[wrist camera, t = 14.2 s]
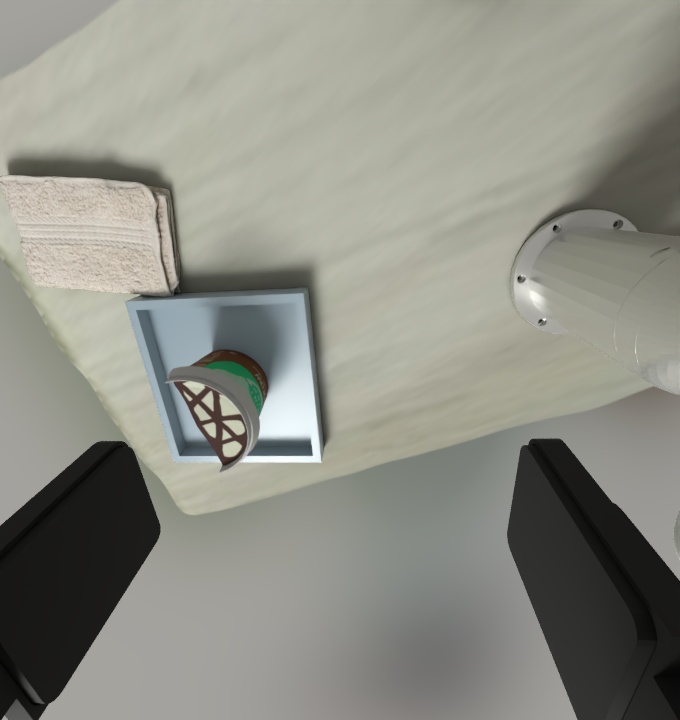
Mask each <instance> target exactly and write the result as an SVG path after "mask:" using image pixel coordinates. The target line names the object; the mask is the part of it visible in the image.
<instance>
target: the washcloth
mask: <svg viewBox="0 0 680 720" xmlns="http://www.w3.org/2000/svg"><path fill="white" fill-rule="evenodd" d="M0 185H1V187H2V190H3V193H4V195H5V199H6V202H7V204H8V206H9V209H10V211H11V213H12V215H13V216H14V218H15V221H16V223H17V224H16V225H17V228H18V229H19V233H20V235H21V236H22V241H21V242H20V244H21V245H22V249H23V254H24V259H25V260H26V264H27V267H28V270H29V272H30V276H31V280H32V281H33V283H35V284H36V285H38V286H40V287H42V286H46V287H59V288H69V289H83V290H93V291H96V292H98V291H105V292H106V291H108V292H112V291H113V292H114V293H129V294H141V295H150V296H161V297H170V296H173V295H174V293H180V292H181V291H180V289H179V286H178V283H179V277H180V273H181V272H180V261H179V252H178V247H177V243H176V236H175V222H174V214H173V207H172V199H171V194H170V191H169V190H168V189H163V188H161V187H159V188H157V187H152V186H146V185H144V184H142V183H140V182H130V181H118V180H106V179H101V178H84V177H81V178H79V177H58V176H49V177H47V176H44V177H41V176H23V175H5V176H0Z"/></svg>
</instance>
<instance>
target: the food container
mask: <svg viewBox="0 0 680 720" xmlns="http://www.w3.org/2000/svg"><path fill="white" fill-rule="evenodd" d="M167 378H168V380H167V381H166V382H165V383H169V382H173V383H174V385H175V387H176V388H177V389H178V391H179V392H180V394H181V395H182V397H183V399H184V400H185V402H186V404H187V406H188V408H189V410H190V413H191V415H192V417H193V419H194V421H195V423H196V425H197V427H198V428H199V430H200V431H201V433H202V434H203V435H204V437H205V438H206V439H207V440H208V442H209V443H210V445H211V446H212V448H213V449H214V451H215V453H216V454H217V456H218V458H219V459H220V461H221V463H222V465H223V466H222V468H221V470H220V472H219V473H222V472H224V471H227V470H229V469H231V468H232V467H234V466H236V465H237V464H238V463H240V462H241V461H242V460H243V459H244V458H245V457H246V456H247V455H248V454H249V452H250V451H251V450H252V449H253V448H254V446H255V444H256V442H257V440H258V437H259V431H260V420H259V417H260V414H261V411H262V408H263V406H264V403H265V400H266V398H267V392H268V381H267V377H266V374H265V372H264V371H263V369H262V368H261V366H260V365H259V364H258V363H257V362H256V361H255V360H254V359H252V358H251V357H250V356H248V355H246V354H244V353H242V352H239V351H235V350H227V349H223V350H216V351H212V352H211V353H209V354H208V355H206V356H204V357H203V358H201V359H200V360H198V361H197V362H195V363H193V364H192V365H190V366H184V367H178V368H174V369H172V371H171V372H170V374H169V375H168V377H167Z"/></svg>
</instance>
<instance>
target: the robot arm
mask: <svg viewBox="0 0 680 720" xmlns="http://www.w3.org/2000/svg"><path fill="white" fill-rule="evenodd" d="M614 222H615V225H614V226H613V224H614ZM554 225H555V226H556V228H555V230H553V226H554ZM519 275H520V279H519V280H517V278H518V276H519ZM510 293H511V297H512V301H513V303H514V305H515V307H516V309H517V311H518V312H519V314H520V315H521V316H522V317H523V318H524V319H525V320H526V321H527V322H528V323H530V324H531V325H533V326H534V327H536V328H537V329H539V330H542V331H545V332H548V333H553V334H560V335H563V334H574V335H576V336H577V337H579V338H580V339H582V340H583V341H585V342H586V343H588V344H590V345H591V346H593V347H594V348H596V349H597V350H599V351H600V352H602V353H603V354H605V355H606V356H608V357H609V358H611V359H612V360H614V361H615V362H617V363H618V364H620V365H621V366H623V367H624V368H626V369H628V370H629V371H631V372H633V373H634V374H636V375H637V376H639V377H640V378H642V379H643V380H645V381H646V382H648V383H650V384H652V385H654V386H656V387H658V388H660V389H663V390H665V391H668V392H671V393H674V394H678V395H680V236H672V235H663V234H654V233H645V232H639V231H638V230H637V228H636V227H635V225H633V224H632V223H631V222H630V221H629V220H628V219H627V218H625V217H623V216H621V215H619V214H617V213H615V212H611V211H607V210H600V209H585V210H577V211H573V212H569V213H565V214H563V215H561V216H559V217H556V218H554V219H552V220H551V221H549V222H548V223H546V224H544V225H543V226H541V227H540V228H539V229H538V230H537V231H536V232H535V233H534V234H533V235H531V237H530V238H529V239H528V240H527V241H526V243H525V244H524V245H523V246H522V248H521V250H520V252H519V253H518V255H517V257H516V259H515V262H514V265H513V267H512V271H511V277H510ZM540 319H541V320H540ZM539 320H540V321H539ZM538 321H539V322H538ZM159 535H160V524H159V520H158V518H157V515H156V512H155V509H154V507H153V504H152V501H151V498H150V495H149V492H148V489H147V487H146V484H145V481H144V478H143V475H142V473H141V470H140V467H139V464H138V461H137V459H136V456H135V453H134V451H133V449H132V448H130V447H128V445H127V444H126V443H125V442H122V441H100V442H97V443H95V444H94V445H92V446H91V447H90V448H89V449H88V450H87V451H86V452H85V453H83V454H82V455H81V456H80V457H79V458H78V459H76V460H75V461H74V462H73V463H72V464H71V465H69V466H68V467H67V468H66V469H65V470H64V471H63V472H62V473H60V474H59V475H58V476H57V477H56V478H55V479H53V480H52V481H51V482H50V483H49V484H48V485H47V486H45V487H44V488H43V489H42V490H41V491H40V492H38V493H37V494H36V495H35V496H34V497H33V498H32V499H30V500H29V501H28V502H27V503H26V504H25V505H24V506H22V508H20V509H19V510H18V511H17V512H16V513H14V514H13V515H12V516H11V517H10V518H9V519H8V520H6V521H5V522H4V523H3V524H2V525H1V526H0V720H2V718H3V716H4V715H5V716H6V718H8V720H38V719H39V718H40V716H41V715H42V713H43V712H44V710H45V709H46V707H47V706H48V704H49V703H51V702H52V701H54V700H55V699H56V698H57V697H58V696H59V695H60V693H61V692H62V691H63V689H64V688H65V686H66V684H67V683H68V681H69V680H70V678H71V677H72V675H73V673H74V672H75V670H76V668H77V667H78V665H79V664H80V662H81V661H82V659H83V658H84V656H85V654H86V653H87V651H88V650H89V648H90V647H91V645H92V643H93V642H94V640H95V638H96V637H97V635H98V634H99V632H100V631H101V629H102V627H103V626H104V624H105V622H106V621H107V620H108V618H109V616H110V615H111V613H112V612H113V610H114V609H115V607H116V605H117V604H118V602H119V601H120V599H121V598H122V596H123V594H124V593H125V591H126V590H127V588H128V586H129V585H130V583H131V582H132V580H133V578H134V577H135V575H136V574H137V572H138V571H139V569H140V567H141V565H142V564H143V563H144V561H145V560H146V558H147V556H148V555H149V553H150V552H151V550H152V549H153V547H154V545H155V544H156V542H157V540H158V538H159ZM507 538H508V544H509V547H510V551H511V553H512V556H513V558H514V561H515V563H516V566H517V568H518V571H519V573H520V576H521V578H522V581H523V583H524V586H525V588H526V591H527V593H528V596H529V598H530V601H531V603H532V606H533V608H534V611H535V614H536V616H537V619H538V621H539V623H540V626H541V629H542V631H543V634H544V636H545V639H546V641H547V644H548V646H549V649H550V651H551V654H552V656H553V659H554V661H555V664H556V666H557V669H558V671H559V674H560V676H561V679H562V682H563V684H564V686H565V689H566V691H567V694H568V696H569V699H570V702H571V704H572V706H573V709H574V712H575V714H576V717H577V719H578V720H680V581H679V580H678V578H677V577H676V576H675V575H674V573H673V572H672V571H671V570H670V568H669V567H668V566H667V565H666V563H665V562H664V561H663V560H662V559H661V558H660V556H659V555H658V554H657V552H655V550H654V549H653V547H652V546H651V545H650V544H649V543H648V541H647V540H646V539H645V538H644V536H643V535H642V534H641V533H640V531H639V530H638V529H637V528H636V527H635V525H634V524H633V523H632V522H631V521H630V519H629V518H628V517H627V515H626V514H625V513H624V512H623V511H622V510H621V509H620V508H619V507H618V506H617V505H616V504H614V503H612V502H611V500H610V499H609V498H608V497H607V495H606V494H605V493H604V492H603V490H602V489H601V488H600V487H599V485H598V484H597V483H596V482H595V480H594V479H593V478H592V476H591V475H590V474H589V473H588V472H587V470H586V469H585V468H584V467H583V465H582V464H581V463H580V462H579V460H578V459H577V458H576V456H575V455H574V454H573V453H572V452H571V450H570V449H569V448H568V447H567V445H566V444H565V443H564V442H563V441H562V440H561V439H531V440H530V442H529V445H524V446H522V448H521V450H520V457H519V463H518V469H517V475H516V481H515V487H514V493H513V500H512V506H511V512H510V518H509V524H508V531H507ZM674 544H675V549H676V553H677V556H678V558H679V560H680V511H679V513H678V515H677V518H676V522H675V526H674Z"/></svg>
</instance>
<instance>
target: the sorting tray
mask: <svg viewBox="0 0 680 720" xmlns="http://www.w3.org/2000/svg"><path fill="white" fill-rule="evenodd" d="M125 304H126V307H127V311H128V314H129V317H130V320H131V324H132V327H133V330H134V333H135V337H136V340H137V343H138V346H139V350H140V353H141V356H142V359H143V363H144V366H145V369H146V372H147V376H148V379H149V382H150V386H151V389H152V392H153V395H154V399H155V402H156V405H157V408H158V412H159V415H160V418H161V421H162V425H163V428H164V431H165V434H166V438H167V441H168V444H169V447H170V451H171V454H172V457H173V460H174V462H221V461H220V459H219V458H218V456H217V454H216V453H215V451H214V449H213V448H212V446H211V445H210V443H209V442H208V440H207V439H206V438H205V437H204V435H203V434H202V433H201V431H200V430H199V428H198V427H197V425H196V423H195V421H194V419H193V417H192V415H191V413H190V410H189V408H188V406H187V404H186V402H185V400H184V399H183V397H182V395H181V394H180V392H179V391H178V389H177V388H176V387H175V385H174V383H173V382H169V383H165V382H166V381H167V380H168V378H167V377H168V375H169V374H170V372H171V371H172V369H174V368H178V367H184V366H190V365H192V364H193V363H195V362H197V361H198V360H200V359H201V358H203V357H204V356H206V355H208V354H209V353H211V352H212V351H216V350H223V349H227V350H235V351H239V352H242V353H244V354H246V355H248V356H250V357H251V358H252V359H254V360H255V361H256V362H257V363H258V364H259V365H260V366H261V368H262V369H263V371H264V372H265V374H266V377H267V381H268V392H267V398H266V400H265V403H264V406H263V408H262V411H261V414H260V417H259V420H260V431H259V437H258V440H257V442H256V444H255V446H254V448H253V449H252V450H251V451H250V452H249V454H248V455H247V456H246V457H245V458H244V459H243V460H242V461H241V462H322V457H323V451H324V441H323V431H322V421H321V411H320V401H319V391H318V381H317V371H316V362H315V352H314V342H313V332H312V322H311V312H310V302H309V292H308V287H300V288H279V289H259V290H238V291H218V292H197V293H177V294H174V295H173V296H170V297H161V296H150V295H140V296H138V297H135V298H133V299H130V300H128V301H125Z"/></svg>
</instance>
